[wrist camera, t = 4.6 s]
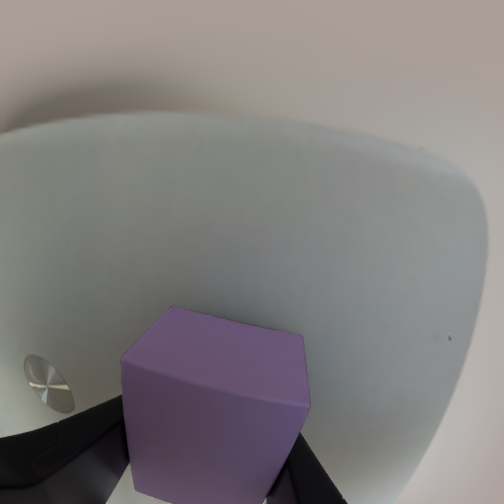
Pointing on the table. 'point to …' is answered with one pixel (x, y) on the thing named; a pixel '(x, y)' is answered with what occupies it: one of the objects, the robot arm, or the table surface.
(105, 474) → the robot arm
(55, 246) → the table surface
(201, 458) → the soap bar
